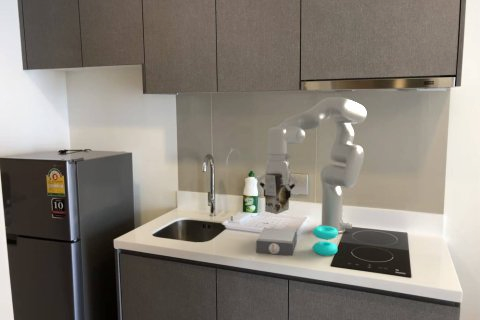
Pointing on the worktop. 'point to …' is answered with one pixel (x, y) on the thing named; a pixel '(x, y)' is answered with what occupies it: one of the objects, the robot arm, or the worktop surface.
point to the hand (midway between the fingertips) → (277, 198)
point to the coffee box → (275, 194)
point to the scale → (276, 241)
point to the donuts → (325, 246)
